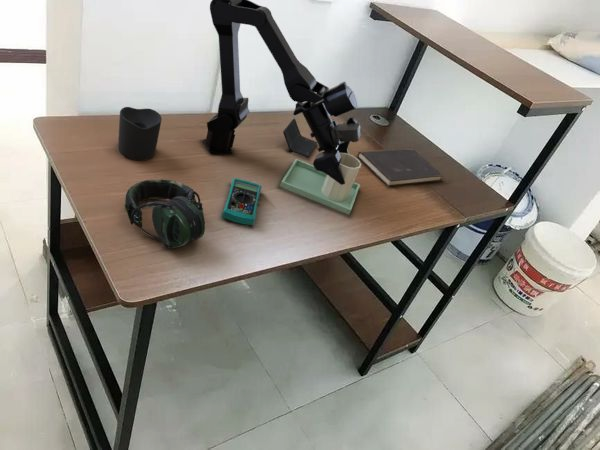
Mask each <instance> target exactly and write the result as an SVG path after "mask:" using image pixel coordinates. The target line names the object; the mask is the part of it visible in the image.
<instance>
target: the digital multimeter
mask: <svg viewBox="0 0 600 450" xmlns="http://www.w3.org/2000/svg"><path fill="white" fill-rule="evenodd" d="M261 191H262V185H261V184H258V183H255V182H252V181H249V180H245V179H241V178H237V177H235V178H234V177H233V178H232V180H231V184H230V189H229V193H228V196H227V200H226V202H225V205H224V207H223V211H222V215H221V217H222V218H223V219H225V220H228V221H231V222H234V223H237V224H240V225H241V224H242V225H249V226H254V225H255V221H256V215H257V208H258V202H259V197H260V194H261Z"/></svg>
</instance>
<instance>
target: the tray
mask: <svg viewBox="0 0 600 450" xmlns="http://www.w3.org/2000/svg"><path fill="white" fill-rule="evenodd" d="M326 176H327V174H325V173H324V172H322V171H316V169H315V167H314V165H313V164H310V163H308V162H306V161H303V160H300V159H299V158H295V160H294V161H293V162H292V164H291V165H290V167H289V169H288V170H287V172H286V173H285V174H284V177H283V179H282V180H281V182H280V185H279V187H280V188H281V189H282V188H283V189H285V190H287V191H289V192H292V193H294V194H297V195H300V196H302V197H304V198H307V199H309V200H312V201H314V202H317V203H319V204H322V205H324V206H326V207H329V208H331V209H333V210H335V211H339V212H341V213H343V214H346V215H348V216H349V215H350V214H351V211H352V209H353V207H354V203H355V201H356V198H357V195H358V192H359V189H360V187H361V184H360V183H357V182H356V181H354V183H353V185H352V188H351V190H350V192H349V195H348V197H347V199H346V200H345V201H342V202H339V201H333V200H331V199H329V198H327V197H326V196H325V195H323V193H322V191H321V189H322V186H323V184H324V181H325V178H326Z"/></svg>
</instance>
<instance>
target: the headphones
mask: <svg viewBox="0 0 600 450" xmlns="http://www.w3.org/2000/svg"><path fill="white" fill-rule="evenodd" d="M196 198H197V200H196ZM147 200H156V201H149V202H147V203H144V204H141V205H139V204H140V203H141V202H143V201H147ZM157 200H168V201H157ZM124 201H125V202H124V209H125V211H126V214H127V217H128V220H129V221H130V225H135V226H136V227H137V228H139V229H140V230H141V231H142V232H143V233H144V234H146V235H147V236H149V237H150V238H153V239H155V240H158V241H159V242H162V243H163V244H164V245H165V246H166V247H167V248H168V249H175V248H180V247H183V246H185V245H186V244H188V243H189V242H191V241H193V240H198V239H201V238H203V236H204V234H205V232H206V219H205V215H204V208H203V202H201V198H200V195H199V193H197V192H196V191H195V190H194V189H193V188H191V187H190V186H189V185H186V184H184V183H181V182H179V181H175V180H172V179H164V178H157V179H156V178H155V179H146V180H142V181H140V182H139V181H138V182H136V183H134V185H132V186H130V187H129V189H127V191H126V193H125V198H124ZM138 205H139V206H138ZM149 207H153V208H152V211H151V221H152V224H153V227H154V228H153V229H154V230H155V232H156V234H157V236H158V237H159V238H158V237H156V236H154V235H152V234H151V233H149V232H147V231H146V230H145V229H144V228H143V222H142V221H143V217H142V216H143V212H142V210H143V209H145V208H149Z"/></svg>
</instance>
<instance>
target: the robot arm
mask: <svg viewBox="0 0 600 450" xmlns="http://www.w3.org/2000/svg"><path fill="white" fill-rule="evenodd" d="M209 12H210V16H211V22H212V25H213V27H214V29H215V31H216V33H217V36H218V48H219V51H218V52H219V64H220V65H219V66H220V80H221V82H220V83H221V84H220V85H221V96H220V100H219V102H218V106H217V113H216V114H215V115H214V116H212V117H211V118H210V119H209V120H208V121H207V122H206V128H207V132H206V136H205V139H202V143H203V144H204V146H205V148H206V149H207V150H208V152H209V154H210V155H223V154H224V155H225V154H228V155H229V154H231V155H232V154H233V152H234V150H232V149H233V147H234V146H233V145H234V142H235V138H236V134H235V133H236V129H237V128H238V127H239V126H240V125H242V123H243V122H244V121H245V120H246V118H247V116H248V114H249V113H250V109H249V97H244V96H243V94H242V91H241V79H240V77H241V75H240V51H239V31H240V27H241V25H248V26H251V27H255V29H256V30H257V32H258V33H259V36H260V37H261V39H262V40H263V42H264V44H265V45H266V47H267V49H268V50H269V52H270V54H271V55H272V58H273V59H274V61H275V62H276V64H277V66H278V67H279V69H280V72H281V74H282V77H283V83H284V86H285V88H286V91H287V94H288V97H289V98H290V99H291V100H292V101H293V102H294V103H295V102H296V103H295V107H294V110H293V114H292V115H293V116H298V115H300V114H302V115H303V117H304V118H305V121H306V124H307V125H308V127H309V130H310V131H311V132H310V133H309V136H310V137H311V138H312V139H313V138H314V139H315V142H317V145H318V147H317V151H318V152H319V153H317V154H316V156H315V157H314V160H313V162H312V165H313V166H314V167H315V169H316V171H322V172H324V173H325V174H327V175H328V176H330V177H331V178H333V179H334V180H335V181H337V182H338V183H339V184H341V185H343V184H345V180H344V177H343V174H342V171H341V168H340V162H341V160H342V158H341V157H340V152H341V153H347V154H350V151H349V145H350V142H352V143H357V142H359V141H360V137H361V136H362V135H361V126H362V125H361V124H360V121H357V119H356V116H348V118H347V121H346V122H343V123H338V121H337V120H336V119H332V116H333V117H335V118H336V117H339V116H341V115H344V114H346V113H348V112H351V111H353V110H356V109H357V108H358V100H357V96H356V94H355V91H354V90H352V88H351V87H350V86H349V85H348V84H347V82H346V81H342V82H340V83H339V84H337V85H336V86H333V87H331V88H329V87H328V86H326V85H325V84H323V83H321V82H319V81H318V80H317V79H316V78H315V76H314V75H313V73H311V71H310V70H309V69H308V68H307V67H306V66H305V65H304V64H302V63H301V61H300V60H298V58H297V56H296V54H295V53H294V51H293V50H292V47H291V46H290V45H289V43H288V41H287V39H286V37H285V36H284V34H283V33H282V31H281V29H280V27H279V25H278V24H277V22H276V20H275V18H274V17H273V14H272V12H271V10H270V9H269V8H268V7H267V6H263V5H259V4H257V3H256V2H253V1H252V0H211V1H210V4H209Z"/></svg>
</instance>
